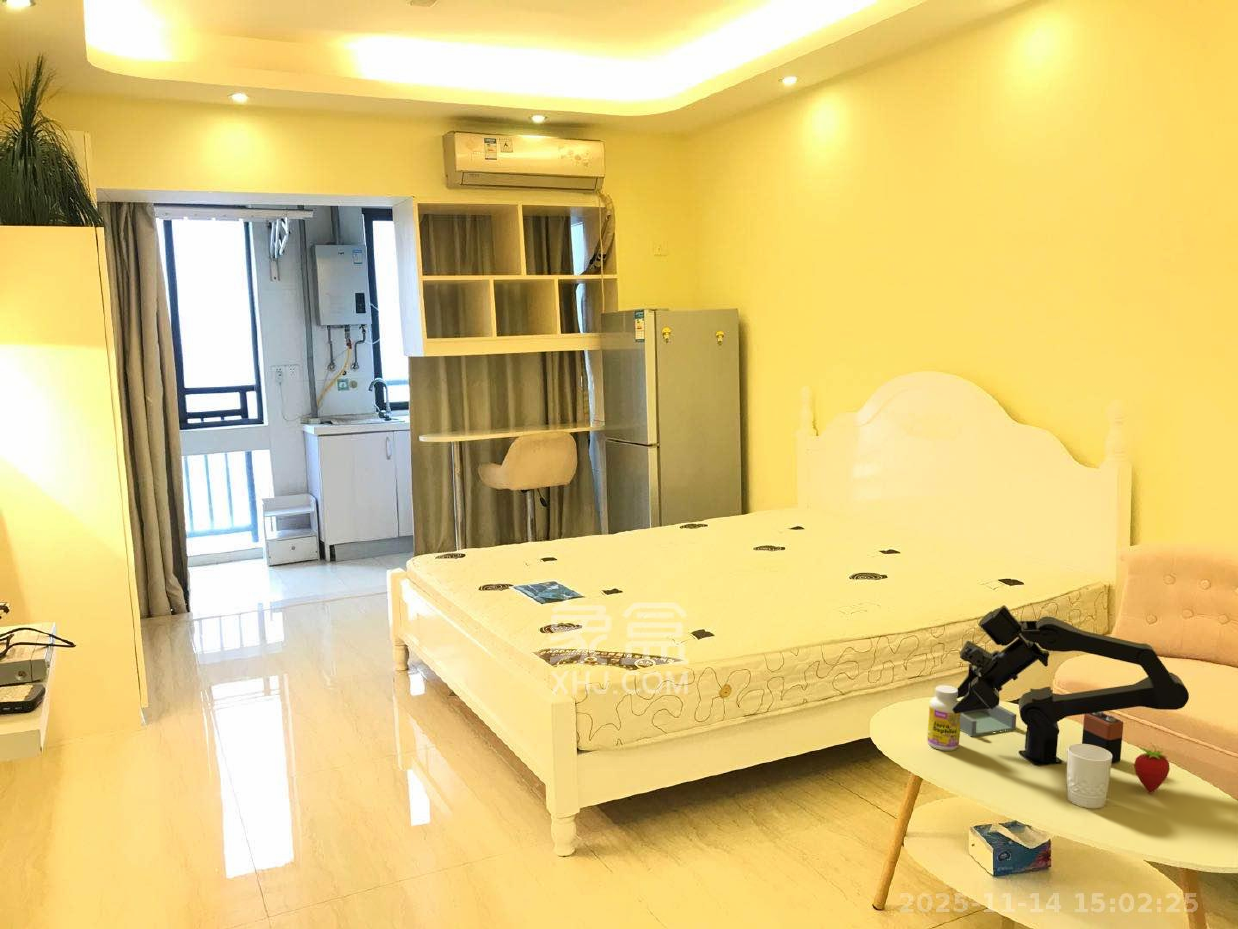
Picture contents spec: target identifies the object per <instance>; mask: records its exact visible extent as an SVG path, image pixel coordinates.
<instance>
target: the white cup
mask: <svg viewBox="0 0 1238 929" xmlns="http://www.w3.org/2000/svg"><path fill="white" fill-rule="evenodd" d="M1066 752H1067V753H1066V754H1067V755H1066V756H1067V757H1066V759H1067V760H1066V785H1067V788H1066V789H1067V792H1066V798H1067V800H1068V801H1069V802H1070V803H1072V804H1073V805H1075V804H1076V806H1078V807H1082V808H1085V809H1094V810H1095V809H1101V808H1103V807H1105V806H1106V801H1107V800H1106V798H1107V792H1108V790H1109V783H1110V777H1111V770H1112V764H1111V763H1112V754H1111V753H1110V752H1109V751H1108V750H1106V749H1104V748H1101V747H1098V746H1094V745H1089V744H1082V743H1074V744H1073V743H1072V744H1070V745H1069V746H1067V751H1066Z"/></svg>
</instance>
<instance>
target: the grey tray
mask: <svg viewBox="0 0 1238 929" xmlns="http://www.w3.org/2000/svg"><path fill="white" fill-rule="evenodd" d="M1016 726H1017V714H1016V713H1015V712H1013V711H1010V710H1008V709H1006V708H1005V707H1003V706H1001V705H1000V704H999V705H998V706H996V707H995V708H994V709H979V710H973V711H967V712H962V713H961V724H960V730H962V731H963V732H962V731H961V732H962V733H964V734H965V733H966V734H965V735H967V734H968V735H967V736H969V737H971V736H974V737H978V736H977V735H980V736H984V735H983V734H986V735H990V734H989V733H992V734H994V733H993V732H998V733H1001V732H1000V731H1004V732H1008V731H1007V730H1010V731H1015V730H1016ZM1005 730H1006V731H1005Z"/></svg>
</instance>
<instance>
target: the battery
mask: <svg viewBox="0 0 1238 929" xmlns="http://www.w3.org/2000/svg"><path fill="white" fill-rule="evenodd" d="M1082 726H1083V727H1082V737H1081V739H1082V740H1081V744H1089V745H1094V746H1098V747H1101V748H1104V749H1106V750H1108V751H1109V752H1110V753H1111V754H1112V763H1111V765H1113V764H1116V763H1117V764H1118V763H1119V762H1121V757H1122V756H1121V755H1122V744H1123V734H1124V722H1123V721H1122V720H1121V719H1118V718H1116V717H1115V716H1114V715H1108V714H1106V713H1104V711H1103V712H1096V713H1089V714H1083V725H1082Z"/></svg>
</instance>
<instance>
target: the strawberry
mask: <svg viewBox="0 0 1238 929" xmlns="http://www.w3.org/2000/svg"><path fill="white" fill-rule="evenodd" d="M1150 745H1152V747H1154V751H1152V750H1151V749H1146V748H1143V747H1140V750H1142V751H1143V752H1145V753H1142V754H1139V755H1138V756H1137V757H1136V758H1135V759H1134V763H1133V766H1134V771H1135V774H1136V776H1137V778H1138V780H1139V782H1140V783H1141V784H1142V786H1143V787H1144V788H1145V790H1146V791H1147V792H1148V793H1150V794H1152V793H1154V792H1155V791H1156V790H1157V789H1158V788H1159V787H1161V785H1162V784H1163V783H1164V781H1165V780H1166V779H1167V777H1168V775H1169V772H1170V770H1171V769H1170V762H1169V761H1168V759H1167V758H1168V756H1166V755H1164V754H1162V753H1163V752H1164V751H1162V750H1161V751H1160V750H1157V748H1156V747H1155V745H1153V743H1152V742H1150Z"/></svg>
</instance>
